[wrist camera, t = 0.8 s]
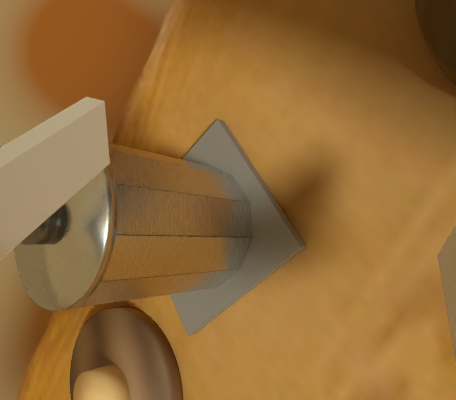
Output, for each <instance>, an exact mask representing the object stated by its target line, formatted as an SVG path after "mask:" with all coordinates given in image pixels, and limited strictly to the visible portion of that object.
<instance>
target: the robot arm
mask: <svg viewBox="0 0 456 400" xmlns="http://www.w3.org/2000/svg"><path fill="white" fill-rule="evenodd" d="M415 7H416V14H417V18H418V23H419V26H420V29H421V32H422V34H423V36H424V39H425V41H426V43H427V45H428V47H429V48H430V50H431V52H432V54H433V56H434V58H435V60H436V61H437V63H438V64H439V66H440V67H441V69H442V70H443V71H444V72H445V73H446V75H447V76H448V77H449V78H450V79H451V80H452V81H453V82H454V83H455V84H456V0H415ZM109 164H110V158H109V147H108V135H107V125H106V113H105V102H104V101H101V100H97V99H94V98H89V97H85V98H83V99H82V100H80V101H78V102H77V103H75V104H73V105H72V106H70V107H68V108H67V109H65V110H63V111H62V112H60V113H58V114H56V115H55V116H53V117H51V118H49V119H48V120H46V121H44V122H43V123H41V124H39V125H38V126H36V127H34V128H32V129H31V130H29V131H27V132H26V133H24V134H22V135H21V136H19V137H17V138H16V139H14V140H12V141H11V142H9V143H7V144H5V145H3V146H2V147H0V260H1V259H2V258H3V257H5V256H6V255H7V254H8V253H9V252H10V251H11V250H12V249H14V248H15V247H16V246H17V245H18V244H19V243H20V242H22V241H23V240H24V239H25V238H26V237H27V236H28V235H30V234H31V233H32V232H33V231H34V230H35V229H36V228H37V227H39V226H40V225H41V224H42V223H43V222H44V221H45V220H46V219H48V218H49V217H50V216H51V215H52V214H53V213H54V212H56V211H57V210H58V209H59V208H60V207H61V206H62V205H63V204H65V203H66V202H67V201H68V200H69V199H70V198H71V197H72V196H74V195H75V194H76V193H77V192H78V191H79V190H80V189H82V188H83V187H84V186H85V185H86V184H87V183H88V182H89V181H91V180H92V179H93V178H94V177H95V176H96V175H97V174H98V173H100V172H101V171H102V170H103V169H104V168H105V167H106V166H108V165H109ZM438 261H439V267H440V272H441V278H442V284H443V290H444V296H445V302H446V308H447V314H448V319H449V325H450V331H451V337H452V343H453V349H454V355H455V361H456V226H455V227H454V229H453V231H452V232H451V234H450V236H449V237H448V239H447V241H446V242H445V244H444V245H443V247H442V249H441V250H440V252H439V254H438Z"/></svg>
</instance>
